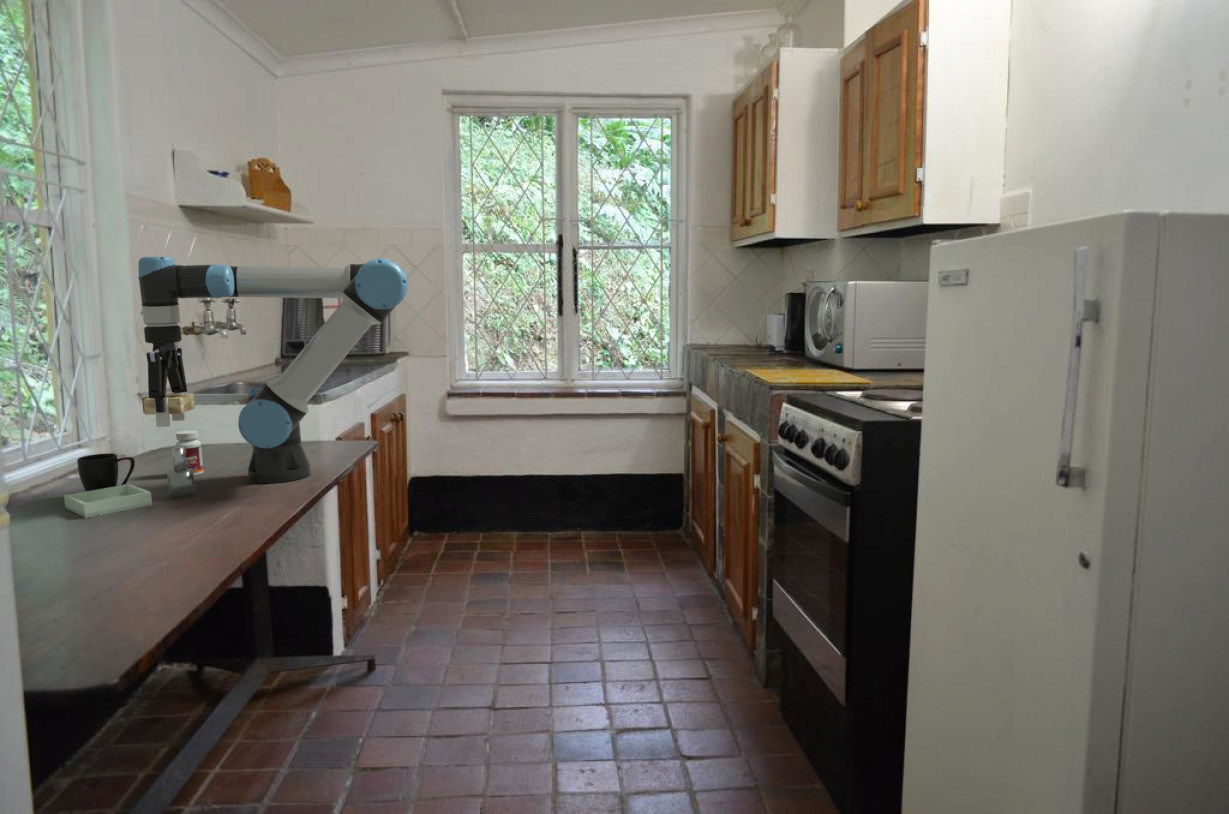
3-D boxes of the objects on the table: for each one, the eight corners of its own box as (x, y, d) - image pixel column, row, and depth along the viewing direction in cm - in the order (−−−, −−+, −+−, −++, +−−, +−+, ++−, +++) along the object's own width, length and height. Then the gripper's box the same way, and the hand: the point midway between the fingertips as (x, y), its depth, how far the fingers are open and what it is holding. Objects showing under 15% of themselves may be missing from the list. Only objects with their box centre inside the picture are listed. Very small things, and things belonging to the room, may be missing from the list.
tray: (130, 496, 209) (128, 483, 209) (152, 504, 200) (150, 492, 200) (65, 508, 199) (63, 495, 199) (85, 518, 190) (84, 504, 190)
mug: (130, 497, 208) (126, 458, 206) (75, 501, 206) (70, 461, 205) (143, 489, 216) (139, 451, 214) (90, 493, 214) (85, 454, 213)
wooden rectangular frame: (194, 408, 209) (193, 393, 209) (181, 413, 201) (179, 398, 201) (152, 409, 208) (151, 395, 208) (137, 415, 200) (135, 399, 200)
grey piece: (200, 492, 211) (195, 445, 209) (189, 498, 205) (184, 449, 204) (176, 493, 211) (171, 445, 209) (165, 499, 205) (160, 450, 204)
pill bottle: (177, 478, 228) (172, 434, 226) (178, 473, 234) (174, 431, 232) (203, 475, 230) (199, 432, 229) (204, 470, 236) (200, 429, 234)
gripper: (164, 323, 212) (173, 417, 215) (123, 328, 191) (134, 431, 195) (196, 322, 212) (204, 416, 216) (159, 327, 192) (169, 430, 195)
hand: (171, 423), depth 205 cm, fingers closed on wooden rectangular frame, 8 cm apart
